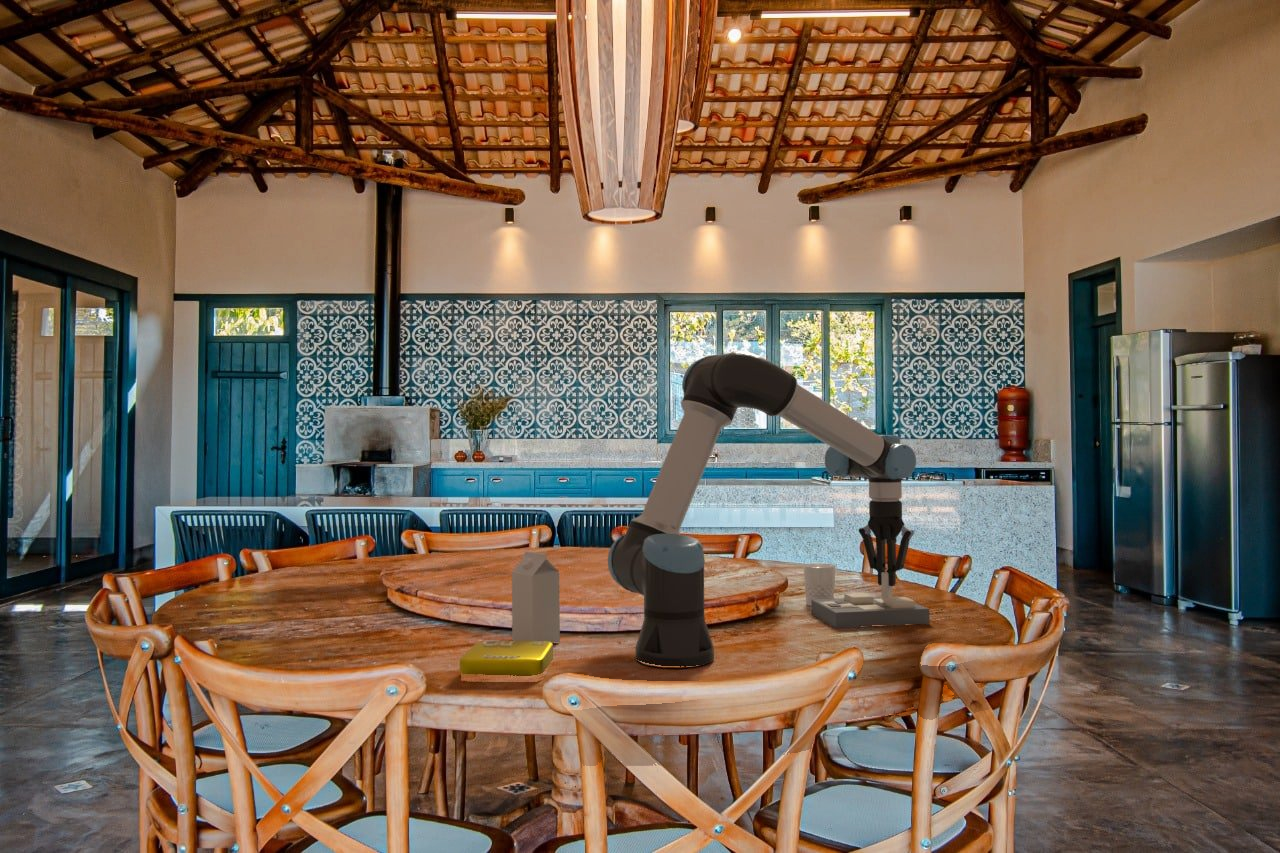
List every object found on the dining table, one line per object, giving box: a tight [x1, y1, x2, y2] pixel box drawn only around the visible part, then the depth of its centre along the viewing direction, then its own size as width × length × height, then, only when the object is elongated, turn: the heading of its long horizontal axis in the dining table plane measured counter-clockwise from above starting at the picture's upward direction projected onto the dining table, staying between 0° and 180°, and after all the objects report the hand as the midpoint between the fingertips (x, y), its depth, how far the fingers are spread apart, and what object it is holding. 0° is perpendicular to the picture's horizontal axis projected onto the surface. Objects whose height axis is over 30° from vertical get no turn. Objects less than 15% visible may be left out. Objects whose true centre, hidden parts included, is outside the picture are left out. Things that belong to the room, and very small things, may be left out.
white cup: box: [803, 562, 836, 607], centre depth 224 cm, size 8×8×10 cm
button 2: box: [856, 605, 885, 610], centre depth 202 cm, size 5×5×2 cm
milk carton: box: [511, 550, 561, 643], centre depth 185 cm, size 7×7×19 cm
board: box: [811, 595, 930, 629], centre depth 206 cm, size 22×16×4 cm
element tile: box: [459, 639, 554, 676], centre depth 163 cm, size 15×15×5 cm
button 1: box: [844, 592, 874, 604], centre depth 209 cm, size 5×5×2 cm
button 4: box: [885, 596, 916, 609], centre depth 203 cm, size 5×5×2 cm
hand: (887, 599), depth 210 cm, fingers closed
